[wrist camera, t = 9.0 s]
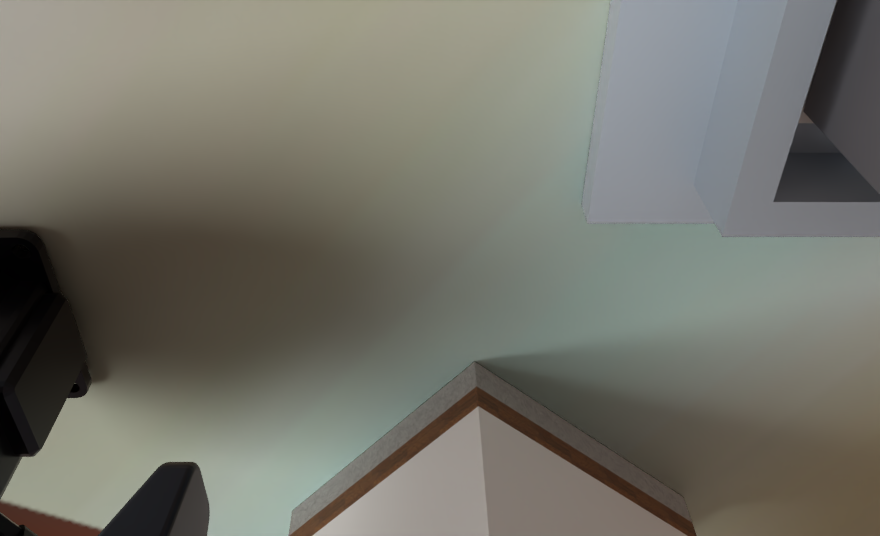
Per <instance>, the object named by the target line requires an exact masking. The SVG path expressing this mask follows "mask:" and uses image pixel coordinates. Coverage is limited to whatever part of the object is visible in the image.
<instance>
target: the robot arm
mask: <svg viewBox="0 0 880 536" xmlns="http://www.w3.org/2000/svg"><path fill="white" fill-rule="evenodd" d="M18 244H19V245H24V246H25V247H27V248H28V249H29V251H26V250H23V249H22V248H20V246H19V245H18ZM86 359H87V354H86V351H85V348H84V345H83V342H82V340H81V337H80V334H79V331H78V328H77V325H76V322H75V319H74V316H73V314H72V311H71V308H70V305H69V302H68V300H67V298H66V297H65V296H64V295H63V294H62V293H61V291H60V288H59V285H58V283H57V280H56V277H55V274H54V271H53V268H52V265H51V262H50V260H49V257H48V254H47V251H46V248H45V245H44V243H43V241H42V240H41V238H40V237H38V236H37V235H36V234H34V233H32V232H30V231H27V230H0V499H1V497H2V495H3V493H4V491H5V489H6V487H7V486H8V484H9V482H10V480H11V478H12V476H13V474H14V472H15V470H16V468H17V466H18V464H19V462H20V460H21V459H22V457H32V456H35V455H36V454H37V453H38V452H39V451H40V450H41V449H42V447H43V445H44V443H45V441H46V439H47V437H48V435H49V433H50V431H51V429H52V427H53V425H54V423H55V421H56V419H57V417H58V415H59V413H60V411H61V409H62V407H63V405H64V403H65V401H66V399H67V398H78V397H82V396H84V395H85V394H86V393H87V391H88V389H89V387H90V385H91V377H90V374H89V371H88V368H87V365H86V363H85V361H86ZM74 383H76V384H74ZM208 524H209V502H208V498H207V494H206V490H205V486H204V483H203V479H202V475H201V471H200V468H199V466H198V465H197V464H196V463H194V462H168V463H164V464H162V465H161V466H160V467H159V468H158V469H157V470H156V471H155V472H154V473H153V474H152V475H151V476H150V477H149V479H148V480H147V481H146V482H145V483H144V484H143V485H142V487H141V488H140V489H139V490H138V491H137V492H136V493H135V494H134V496H133V497H132V498H131V499H130V500H129V501H128V502H127V503H126V505H125V506H124V507H123V508H122V509H121V510H120V511H119V512H118V514H117V515H116V516H115V517H114V518H113V519H112V520H111V521H110V523H109V524H108V525H107V526H106V527H105V528H104V529H103V530H102V532H101V533H100V534H99V535H98V536H207V531H208ZM0 536H38V535H36V534H35V533H33V532H32V531H31V530H30V529H28V528H27V527H26V526H24V525H20V526H18V525H17V524H15V523H14V522H13V521H11V520H10V519H9V518H7V517H6V516H5V515H3V514H2V513H0Z"/></svg>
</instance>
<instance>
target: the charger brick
mask: <svg viewBox="0 0 880 536" xmlns="http://www.w3.org/2000/svg"><path fill="white" fill-rule="evenodd" d="M803 112H804V113H805V114H806V115H807V116H808V117H809V118H810V119H811V120H812V122H813V123H814V124H815V125H816V126H817V127H818V128H819V129H820V130H821V131H822V132H823V134H824V135H825V136H826V137H827V138H828V139H829V140H830V141H831V142H832V143H833V144H834V145H835V147H836V148H837V149H838V150H839V151H840V152H841V153H842V154H843V155H844V156H845V157H846V159H847V160H848V161H849V162H850V163H851V164H852V165H853V166H854V167H855V168H856V169H857V171H858V172H859V173H860V174H861V175H862V176H863V177H864V178H865V179H866V180H867V181H868V183H869V184H870V185H871V186H872V187H873V188H874V189H875V190H876V191H877V192H878V193H879V195H880V0H838V3H837V6H836V9H835V12H834V15H833V18H832V22H831V25H830V28H829V31H828V34H827V37H826V41H825V44H824V47H823V50H822V53H821V56H820V60H819V63H818V66H817V69H816V72H815V75H814V79H813V82H812V85H811V88H810V91H809V94H808V97H807V101H806V104H805V107H804V110H803Z"/></svg>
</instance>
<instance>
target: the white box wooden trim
mask: <svg viewBox="0 0 880 536" xmlns="http://www.w3.org/2000/svg"><path fill="white" fill-rule="evenodd" d="M288 536H696V533H695V530H694V527H693V524H692V521H691V518H690V515H689V512H688V509H687V506H686V503H685V500H684V497H682V496H681V495H679V494H678V493H676V492H675V491H673V490H672V489H670V488H668V487H667V486H665V485H664V484H662V483H661V482H659V481H658V480H656V479H655V478H653V477H652V476H650V475H648V474H647V473H645V472H644V471H642V470H641V469H639V468H638V467H636V466H635V465H633V464H631V463H630V462H628V461H627V460H625V459H624V458H622V457H621V456H619V455H618V454H616V453H615V452H613V451H611V450H610V449H608V448H607V447H605V446H604V445H602V444H601V443H599V442H598V441H596V440H595V439H593V438H591V437H590V436H588V435H587V434H585V433H584V432H582V431H581V430H579V429H578V428H576V427H575V426H573V425H571V424H570V423H568V422H567V421H565V420H564V419H562V418H561V417H559V416H558V415H556V414H555V413H553V412H551V411H550V410H548V409H547V408H545V407H544V406H542V405H541V404H539V403H538V402H536V401H534V400H533V399H531V398H530V397H528V396H527V395H525V394H524V393H522V392H521V391H519V390H518V389H516V388H514V387H513V386H511V385H510V384H508V383H507V382H505V381H504V380H502V379H501V378H499V377H498V376H496V375H494V374H493V373H491V372H490V371H488V370H487V369H485V368H484V367H482V366H481V365H479V364H478V363H476V362H473V363H472V364H471V365H470V366H469V367H467V368H466V369H465V370H464V371H463V372H461V373H460V374H459V375H458V376H456V377H455V378H454V379H453V380H452V381H450V382H449V383H448V384H447V385H445V386H444V387H443V388H442V389H441V390H439V391H438V392H437V393H436V394H434V395H433V396H432V397H431V398H430V399H428V400H427V401H426V402H425V403H423V404H422V405H421V406H420V407H419V408H417V409H416V410H415V411H414V412H412V413H411V414H410V415H409V416H408V417H406V418H405V419H404V420H403V421H401V422H400V423H399V424H398V425H397V426H395V427H394V428H393V429H392V430H390V431H389V432H388V433H387V434H386V435H384V436H383V437H382V438H381V439H379V440H378V441H377V442H376V443H375V444H373V445H372V446H371V447H370V448H368V449H367V450H366V451H365V452H364V453H362V454H361V455H360V456H359V457H357V458H356V459H355V460H354V461H353V462H351V463H350V464H349V465H348V466H346V467H345V468H344V469H343V470H342V471H340V472H339V473H338V474H337V475H335V476H334V477H333V478H332V479H331V480H329V481H328V482H327V483H326V484H324V485H323V486H322V487H321V488H320V489H318V490H317V491H316V492H315V493H313V494H312V495H311V496H310V497H309V498H307V499H306V500H305V501H304V502H302V503H301V504H300V505H299V506H298V507H296V508H295V509H294V510H293V511H292V516H291V523H290V529H289V535H288Z"/></svg>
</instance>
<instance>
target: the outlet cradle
mask: <svg viewBox="0 0 880 536" xmlns="http://www.w3.org/2000/svg"><path fill="white" fill-rule="evenodd" d="M837 3H838V0H611V3H610V10H609V16H608V23H607V30H606V37H605V44H604V51H603V58H602V65H601V72H600V79H599V86H598V93H597V100H596V107H595V114H594V121H593V128H592V135H591V141H590V148H589V155H588V162H587V169H586V176H585V183H584V190H583V197H582V204H581V205H582V208H583V211H584V214H585V218H586V221H587V223H703V224H715V225H716V226H717V228H718V230H719V232H720V234H721V235H722V237H880V195H879V193H878V192H877V191H876V190H875V189H874V188H873V187H872V186H871V185H870V184H869V183H868V181H867V180H866V179H865V178H864V177H863V176H862V175H861V174H860V173H859V172H858V171H857V169H856V168H855V167H854V166H853V165H852V164H851V163H850V162H849V161H848V160H847V159H846V157H845V156H844V155H843V154H842V153H841V152H840V151H839V150H838V149H837V148H836V147H835V145H834V144H833V143H832V142H831V141H830V140H829V139H828V138H827V137H826V136H825V135H824V134H823V132H822V131H821V130H820V129H819V128H818V127H817V126H816V125H815V124H814V123H813V122H812V120H811V119H810V118H809V117H808V116H807V115H806V114H805V113H804V112H803V110H804V107H805V104H806V101H807V97H808V94H809V91H810V88H811V85H812V82H813V79H814V75H815V72H816V69H817V66H818V63H819V60H820V56H821V53H822V50H823V47H824V44H825V41H826V37H827V34H828V31H829V28H830V25H831V22H832V18H833V15H834V12H835V9H836V6H837Z"/></svg>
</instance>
